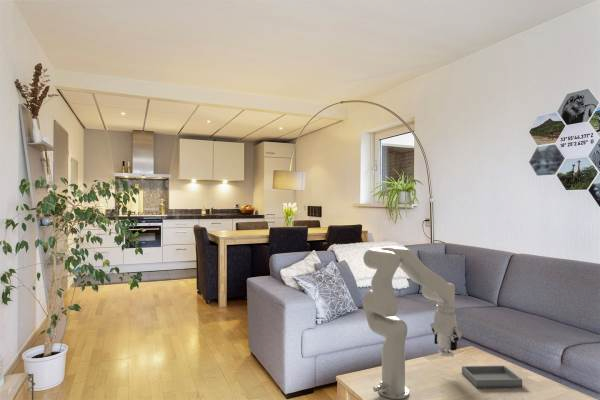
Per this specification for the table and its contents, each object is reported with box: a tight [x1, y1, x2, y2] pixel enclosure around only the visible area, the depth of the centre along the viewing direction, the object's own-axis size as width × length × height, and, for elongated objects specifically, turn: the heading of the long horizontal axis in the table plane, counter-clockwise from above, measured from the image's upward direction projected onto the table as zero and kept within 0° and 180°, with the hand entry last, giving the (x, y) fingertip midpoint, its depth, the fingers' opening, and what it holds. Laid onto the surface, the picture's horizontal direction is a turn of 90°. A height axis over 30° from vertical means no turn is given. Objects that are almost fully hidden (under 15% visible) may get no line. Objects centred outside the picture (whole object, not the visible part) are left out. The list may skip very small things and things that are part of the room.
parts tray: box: [461, 365, 523, 389], centre depth 172 cm, size 20×14×4 cm
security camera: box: [437, 332, 455, 358], centre depth 179 cm, size 6×7×10 cm
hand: (445, 346), depth 179 cm, fingers closed on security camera, 8 cm apart
